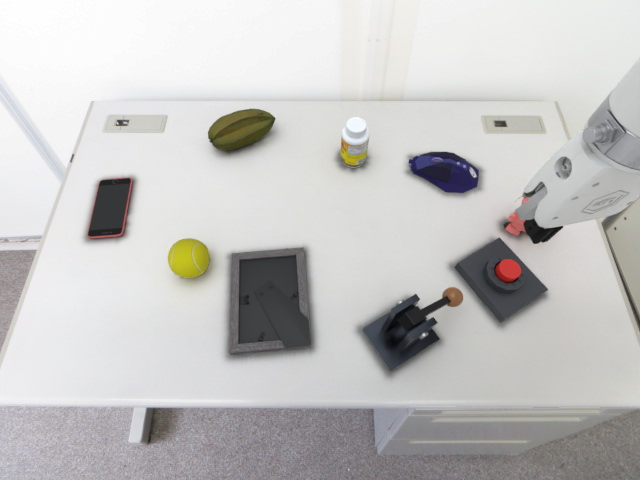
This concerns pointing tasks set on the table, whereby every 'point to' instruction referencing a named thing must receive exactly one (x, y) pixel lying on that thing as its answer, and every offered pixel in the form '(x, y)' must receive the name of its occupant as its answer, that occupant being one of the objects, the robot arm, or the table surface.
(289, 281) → the picture frame
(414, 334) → the switch bracket
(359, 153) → the supplement bottle
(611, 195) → the robot arm
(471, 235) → the table surface
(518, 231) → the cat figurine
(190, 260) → the tennis ball
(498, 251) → the grey base plate
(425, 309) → the switch lever
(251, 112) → the fruit
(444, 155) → the computer mouse
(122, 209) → the smartphone
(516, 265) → the button
